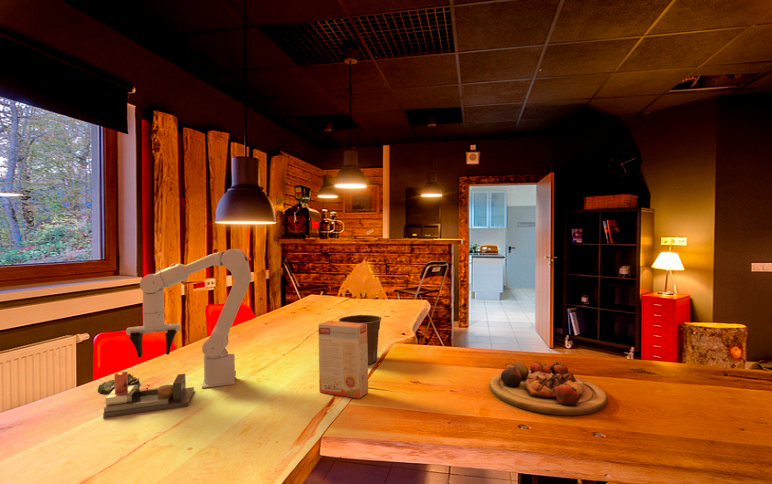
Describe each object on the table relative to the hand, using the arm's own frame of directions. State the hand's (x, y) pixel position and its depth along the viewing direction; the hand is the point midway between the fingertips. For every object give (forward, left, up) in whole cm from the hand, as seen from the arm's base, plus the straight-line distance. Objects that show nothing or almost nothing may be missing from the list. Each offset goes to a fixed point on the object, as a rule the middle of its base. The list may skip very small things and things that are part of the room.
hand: (154, 355), depth 123 cm
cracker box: (-55, +25, -11) cm, 61 cm away
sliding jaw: (+5, +13, -9) cm, 17 cm away
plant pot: (-68, -3, -11) cm, 69 cm away
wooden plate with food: (-111, +47, -11) cm, 121 cm away
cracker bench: (-2, +13, -10) cm, 17 cm away
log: (+11, -5, -11) cm, 17 cm away
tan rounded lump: (-5, +13, -9) cm, 17 cm away
